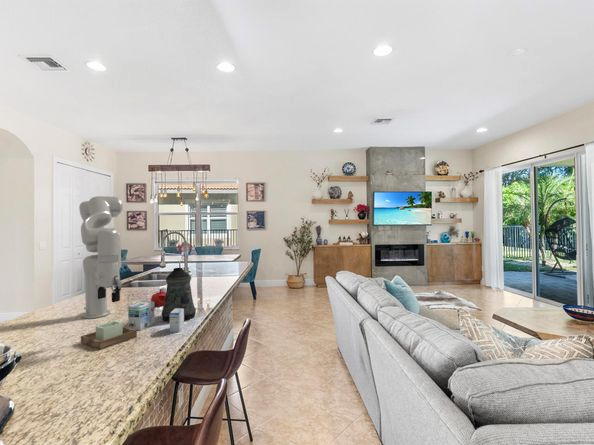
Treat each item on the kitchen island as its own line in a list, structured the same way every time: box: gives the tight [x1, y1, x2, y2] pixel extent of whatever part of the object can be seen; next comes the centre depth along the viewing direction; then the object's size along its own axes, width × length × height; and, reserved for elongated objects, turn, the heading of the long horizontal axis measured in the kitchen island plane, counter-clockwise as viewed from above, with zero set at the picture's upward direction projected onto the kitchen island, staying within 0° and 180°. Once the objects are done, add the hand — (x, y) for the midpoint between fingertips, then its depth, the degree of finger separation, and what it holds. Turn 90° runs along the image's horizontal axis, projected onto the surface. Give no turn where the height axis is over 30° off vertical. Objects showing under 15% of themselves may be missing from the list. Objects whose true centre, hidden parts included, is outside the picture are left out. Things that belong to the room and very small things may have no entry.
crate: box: [80, 326, 138, 351], centre depth 140 cm, size 14×16×3 cm
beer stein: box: [161, 267, 197, 323], centre depth 171 cm, size 16×19×25 cm
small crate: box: [95, 320, 123, 341], centre depth 140 cm, size 6×8×6 cm
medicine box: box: [169, 308, 185, 333], centre depth 153 cm, size 8×4×9 cm, turn 5°
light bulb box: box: [127, 300, 155, 331], centre depth 157 cm, size 11×7×11 cm, turn 168°
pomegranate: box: [150, 288, 166, 307], centre depth 196 cm, size 10×10×9 cm
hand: (108, 299), depth 140 cm, fingers open, 9 cm apart
